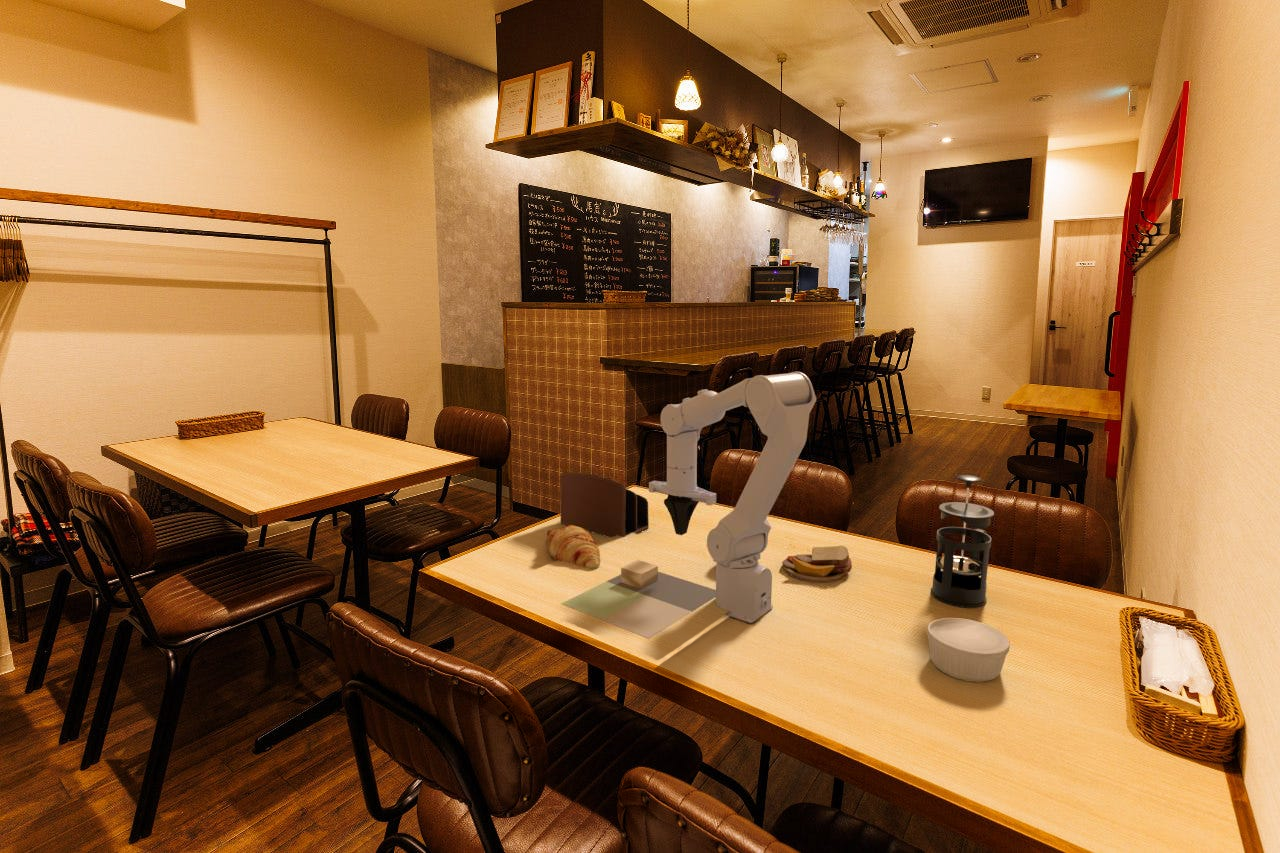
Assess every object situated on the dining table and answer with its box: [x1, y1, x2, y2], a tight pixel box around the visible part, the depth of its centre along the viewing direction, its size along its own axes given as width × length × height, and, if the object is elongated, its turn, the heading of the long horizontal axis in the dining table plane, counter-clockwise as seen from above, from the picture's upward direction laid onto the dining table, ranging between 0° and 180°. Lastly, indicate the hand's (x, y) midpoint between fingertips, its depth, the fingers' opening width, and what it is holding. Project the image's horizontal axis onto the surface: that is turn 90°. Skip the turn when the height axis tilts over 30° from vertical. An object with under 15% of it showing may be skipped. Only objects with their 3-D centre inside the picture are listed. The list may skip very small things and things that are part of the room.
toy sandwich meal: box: [782, 545, 853, 583], centre depth 136 cm, size 12×14×5 cm
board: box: [560, 571, 716, 640], centre depth 122 cm, size 20×22×1 cm
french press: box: [930, 474, 995, 609], centre depth 123 cm, size 12×9×23 cm
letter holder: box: [560, 471, 650, 538], centre depth 162 cm, size 10×20×14 cm, turn 53°
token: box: [620, 559, 659, 589], centre depth 129 cm, size 5×5×3 cm
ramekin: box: [926, 617, 1011, 683], centre depth 101 cm, size 11×11×5 cm
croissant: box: [545, 525, 601, 570], centre depth 144 cm, size 21×10×8 cm, turn 35°
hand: (681, 533), depth 131 cm, fingers closed
